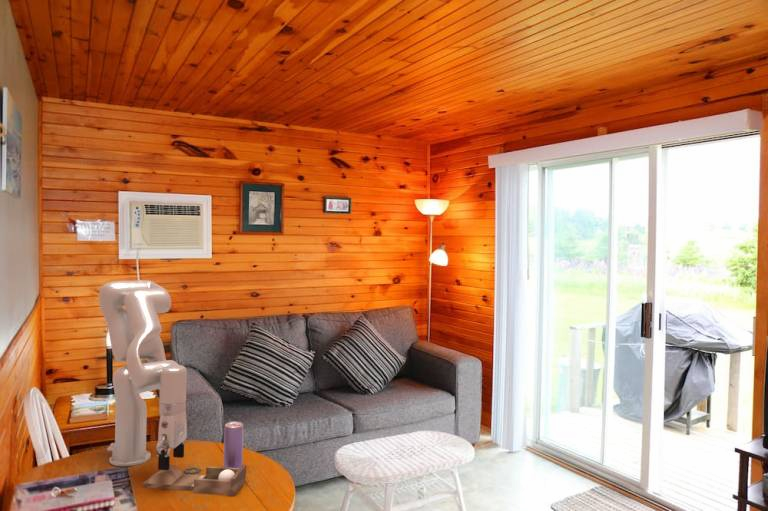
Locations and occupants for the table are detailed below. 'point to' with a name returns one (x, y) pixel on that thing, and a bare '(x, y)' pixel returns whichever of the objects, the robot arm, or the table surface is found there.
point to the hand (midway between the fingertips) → (171, 463)
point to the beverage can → (233, 445)
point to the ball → (226, 475)
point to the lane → (198, 480)
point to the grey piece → (192, 469)
